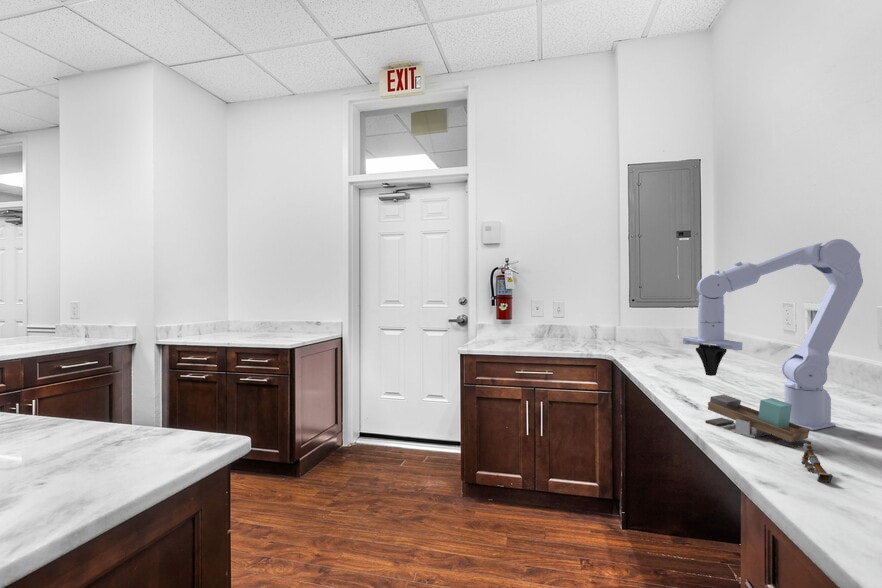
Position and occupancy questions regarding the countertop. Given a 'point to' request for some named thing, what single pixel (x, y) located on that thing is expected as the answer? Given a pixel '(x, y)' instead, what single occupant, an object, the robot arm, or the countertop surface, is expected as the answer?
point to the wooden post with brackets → (814, 464)
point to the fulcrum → (752, 430)
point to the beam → (754, 418)
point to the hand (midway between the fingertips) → (710, 375)
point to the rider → (775, 412)
